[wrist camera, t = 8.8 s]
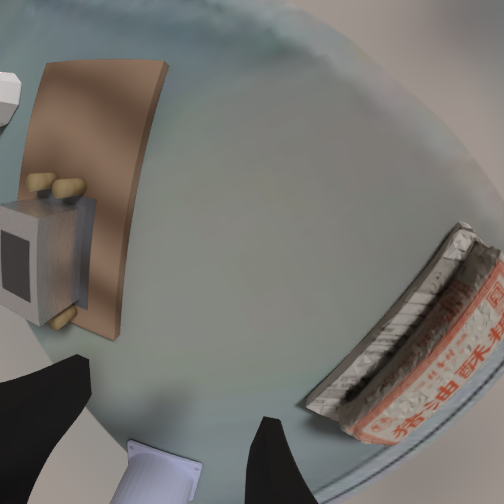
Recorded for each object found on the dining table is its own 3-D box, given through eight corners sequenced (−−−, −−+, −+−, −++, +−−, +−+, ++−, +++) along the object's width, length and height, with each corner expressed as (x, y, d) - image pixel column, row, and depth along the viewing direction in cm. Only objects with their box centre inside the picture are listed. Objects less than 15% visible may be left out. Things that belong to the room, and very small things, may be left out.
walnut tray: (119, 334, 22) (98, 356, 18) (23, 291, 22) (-1, 305, 19) (169, 65, 17) (149, 46, 13) (53, 66, 17) (27, 55, 14)
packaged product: (494, 226, 13) (545, 309, 14) (455, 215, 18) (511, 288, 19) (305, 437, 18) (391, 470, 18) (302, 394, 22) (379, 434, 23)
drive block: (79, 299, 20) (39, 327, 15) (39, 281, 20) (-2, 303, 15) (85, 207, 18) (37, 218, 14) (43, 196, 18) (-4, 204, 14)
